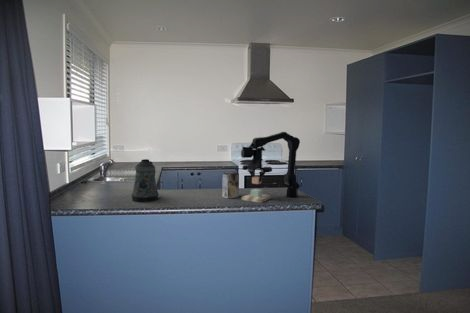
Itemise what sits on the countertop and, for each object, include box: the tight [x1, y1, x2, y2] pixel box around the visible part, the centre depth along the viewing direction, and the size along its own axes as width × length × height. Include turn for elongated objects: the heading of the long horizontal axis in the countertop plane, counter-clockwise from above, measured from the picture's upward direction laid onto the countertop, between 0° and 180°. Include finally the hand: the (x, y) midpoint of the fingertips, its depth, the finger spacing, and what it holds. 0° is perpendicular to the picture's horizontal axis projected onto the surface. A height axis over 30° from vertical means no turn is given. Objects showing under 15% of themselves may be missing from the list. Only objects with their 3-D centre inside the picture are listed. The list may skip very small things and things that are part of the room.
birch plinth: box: [240, 192, 272, 204], centre depth 217 cm, size 14×14×2 cm
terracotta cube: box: [251, 175, 263, 185], centre depth 216 cm, size 4×4×4 cm
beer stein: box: [131, 158, 159, 203], centre depth 214 cm, size 16×19×25 cm
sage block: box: [250, 188, 263, 197], centre depth 217 cm, size 6×6×4 cm
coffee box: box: [221, 171, 240, 199], centre depth 222 cm, size 9×6×16 cm
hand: (256, 181), depth 217 cm, fingers closed on terracotta cube, 4 cm apart
